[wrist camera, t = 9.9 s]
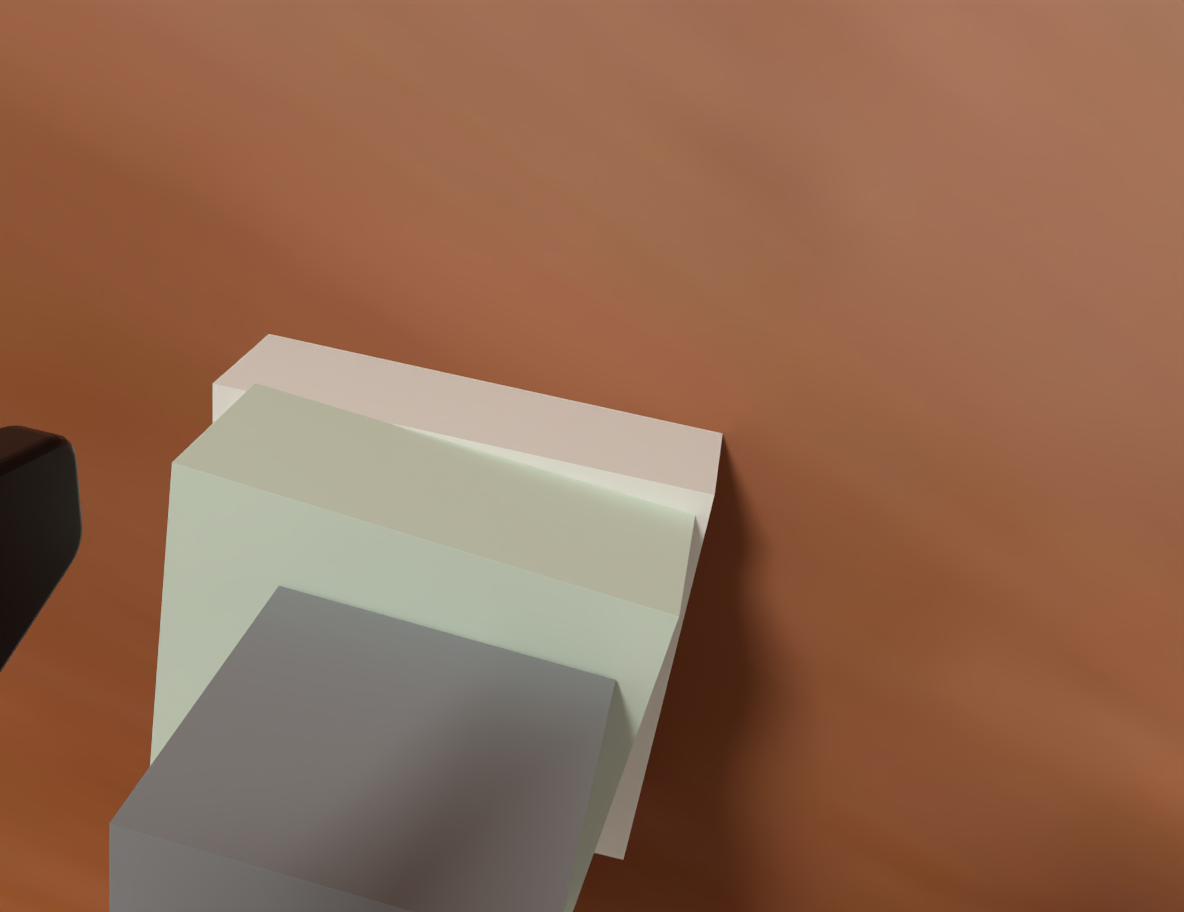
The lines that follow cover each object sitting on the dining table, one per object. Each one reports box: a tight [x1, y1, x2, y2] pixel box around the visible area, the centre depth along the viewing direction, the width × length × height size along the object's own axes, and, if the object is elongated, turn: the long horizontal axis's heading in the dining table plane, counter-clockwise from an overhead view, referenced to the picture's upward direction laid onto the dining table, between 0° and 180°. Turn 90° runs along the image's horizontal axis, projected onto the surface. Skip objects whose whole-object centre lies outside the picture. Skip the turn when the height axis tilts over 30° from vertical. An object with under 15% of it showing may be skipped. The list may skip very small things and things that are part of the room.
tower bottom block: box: [213, 334, 723, 860], centre depth 23 cm, size 9×9×3 cm
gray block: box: [109, 586, 616, 912], centre depth 17 cm, size 6×6×5 cm
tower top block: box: [150, 383, 695, 912], centre depth 20 cm, size 8×8×3 cm
